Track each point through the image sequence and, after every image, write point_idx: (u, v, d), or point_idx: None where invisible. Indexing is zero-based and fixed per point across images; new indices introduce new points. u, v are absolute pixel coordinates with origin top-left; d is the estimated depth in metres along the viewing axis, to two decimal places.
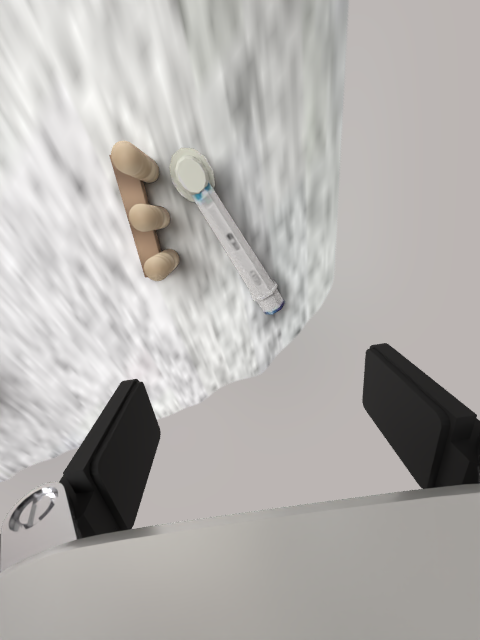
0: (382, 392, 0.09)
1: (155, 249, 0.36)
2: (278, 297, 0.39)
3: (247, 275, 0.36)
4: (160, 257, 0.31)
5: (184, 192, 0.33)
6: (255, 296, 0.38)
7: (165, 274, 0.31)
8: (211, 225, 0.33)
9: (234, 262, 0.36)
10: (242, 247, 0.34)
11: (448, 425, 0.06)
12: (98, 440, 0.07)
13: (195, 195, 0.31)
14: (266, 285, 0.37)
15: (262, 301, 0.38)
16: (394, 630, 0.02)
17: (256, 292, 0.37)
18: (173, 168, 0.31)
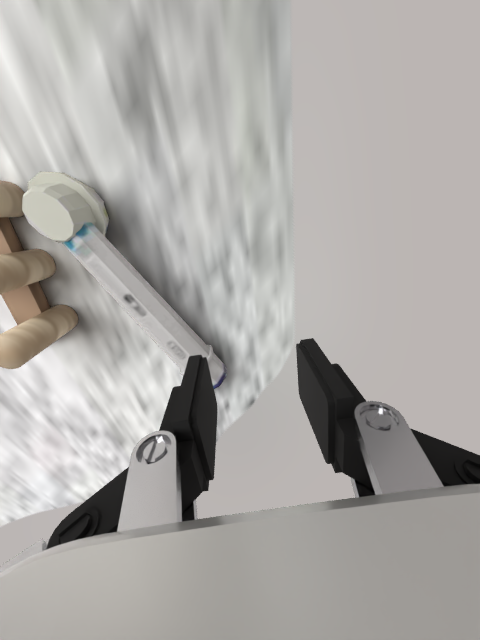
0: (305, 381, 0.10)
1: (35, 308, 0.26)
2: (215, 370, 0.28)
3: (164, 347, 0.25)
4: (11, 336, 0.20)
5: None
6: (182, 370, 0.28)
7: (21, 360, 0.21)
8: (101, 283, 0.22)
9: (144, 329, 0.25)
10: (151, 312, 0.23)
11: (333, 405, 0.07)
12: (189, 399, 0.08)
13: (65, 243, 0.20)
14: None
15: None
16: (394, 630, 0.02)
17: (182, 366, 0.27)
18: None
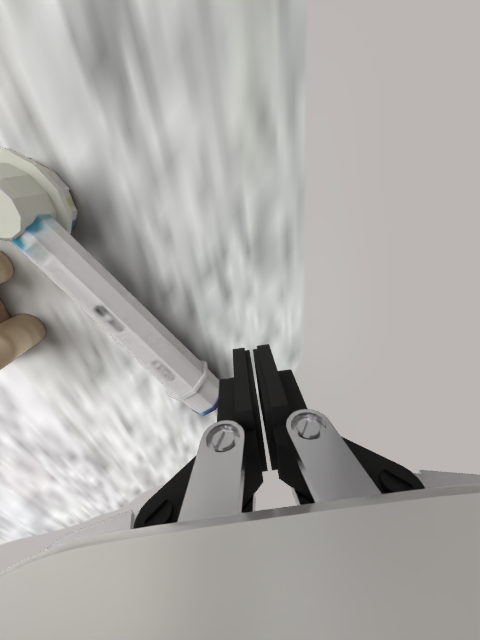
0: None
1: None
2: (210, 392, 0.24)
3: (148, 367, 0.21)
4: None
5: None
6: (171, 391, 0.23)
7: None
8: (65, 292, 0.18)
9: (123, 346, 0.20)
10: (130, 327, 0.19)
11: (270, 413, 0.07)
12: (247, 390, 0.08)
13: (13, 241, 0.16)
14: (184, 379, 0.22)
15: (183, 400, 0.23)
16: (394, 630, 0.02)
17: (170, 388, 0.23)
18: None
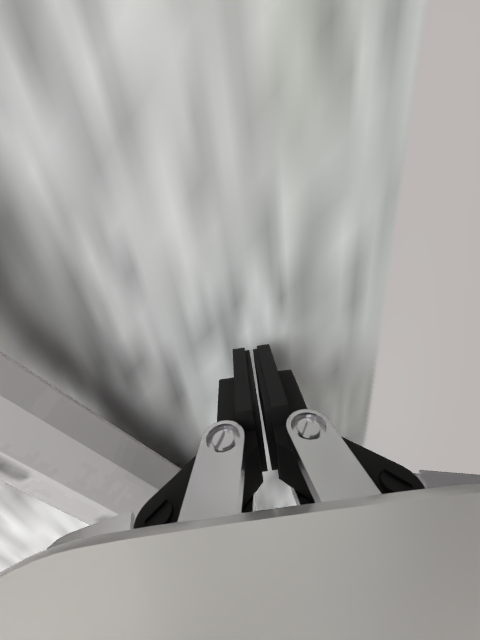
0: None
1: None
2: None
3: (91, 524, 0.11)
4: None
5: None
6: None
7: None
8: None
9: None
10: (42, 471, 0.09)
11: (269, 413, 0.07)
12: (247, 390, 0.08)
13: None
14: None
15: None
16: (394, 630, 0.02)
17: None
18: None
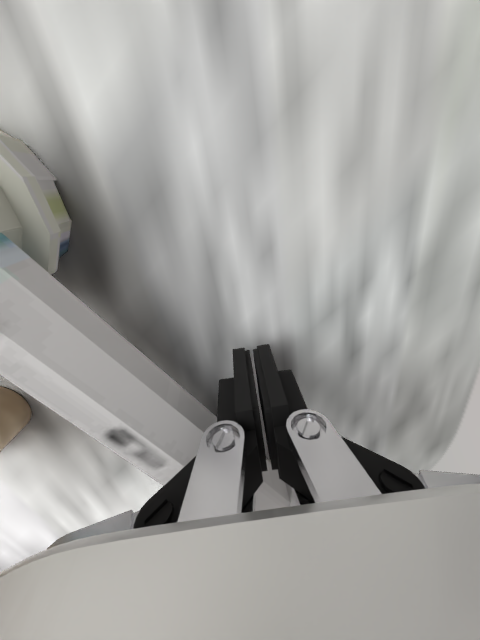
0: None
1: None
2: None
3: None
4: None
5: None
6: None
7: None
8: None
9: None
10: (178, 459, 0.09)
11: (269, 413, 0.07)
12: (247, 390, 0.08)
13: None
14: None
15: None
16: (394, 630, 0.02)
17: None
18: None
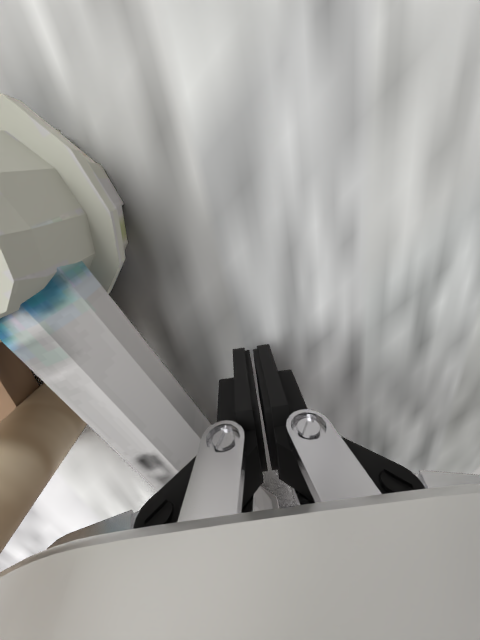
0: None
1: (2, 396, 0.11)
2: None
3: None
4: None
5: None
6: None
7: None
8: None
9: None
10: None
11: (269, 413, 0.07)
12: (247, 390, 0.08)
13: None
14: None
15: None
16: (394, 630, 0.02)
17: None
18: None
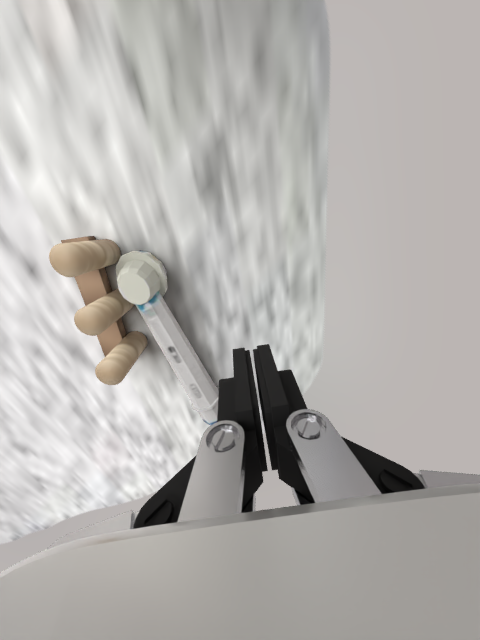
0: None
1: (117, 335, 0.32)
2: None
3: (186, 387, 0.32)
4: (115, 359, 0.27)
5: None
6: (194, 405, 0.35)
7: (121, 378, 0.27)
8: (153, 334, 0.29)
9: (174, 371, 0.32)
10: (185, 361, 0.31)
11: (269, 413, 0.07)
12: (247, 390, 0.08)
13: (137, 305, 0.27)
14: (206, 399, 0.33)
15: (200, 412, 0.35)
16: (394, 630, 0.02)
17: (195, 403, 0.34)
18: (120, 268, 0.28)
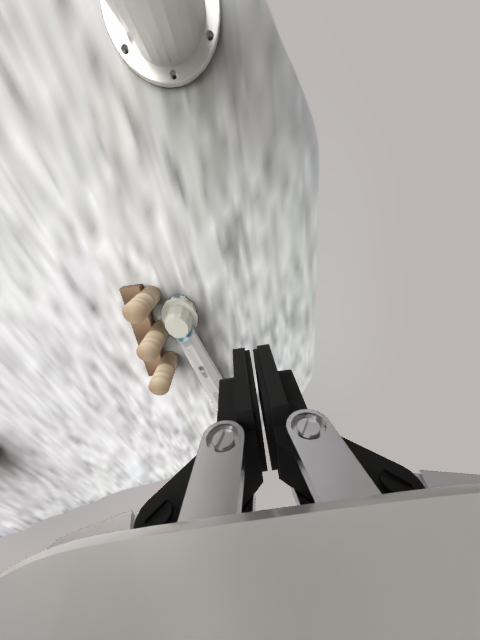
0: None
1: (157, 355, 0.42)
2: None
3: (210, 394, 0.43)
4: (162, 377, 0.37)
5: None
6: (215, 407, 0.45)
7: (166, 390, 0.37)
8: (188, 357, 0.40)
9: (202, 383, 0.42)
10: (210, 376, 0.41)
11: (269, 413, 0.07)
12: (247, 390, 0.08)
13: (178, 338, 0.37)
14: None
15: None
16: (394, 630, 0.02)
17: (216, 406, 0.44)
18: (164, 311, 0.38)
